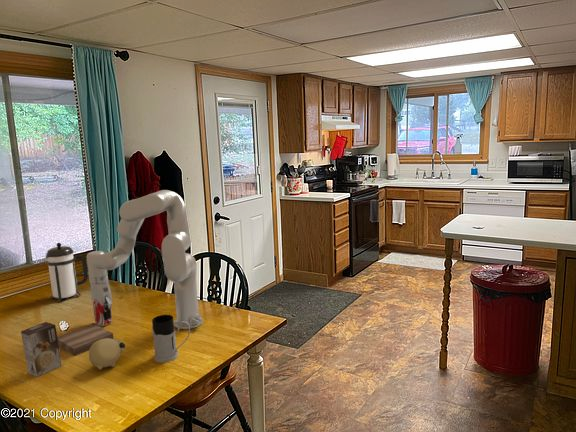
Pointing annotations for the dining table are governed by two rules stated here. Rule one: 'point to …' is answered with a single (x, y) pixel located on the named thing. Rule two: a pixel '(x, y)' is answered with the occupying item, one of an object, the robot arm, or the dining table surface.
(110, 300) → the robot arm
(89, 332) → the walnut stand
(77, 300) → the dining table surface
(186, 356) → the dining table surface
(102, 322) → the soda can
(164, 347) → the grey black mug
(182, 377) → the dining table surface
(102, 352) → the toy pig
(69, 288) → the coffee press
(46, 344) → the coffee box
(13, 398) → the dining table surface
